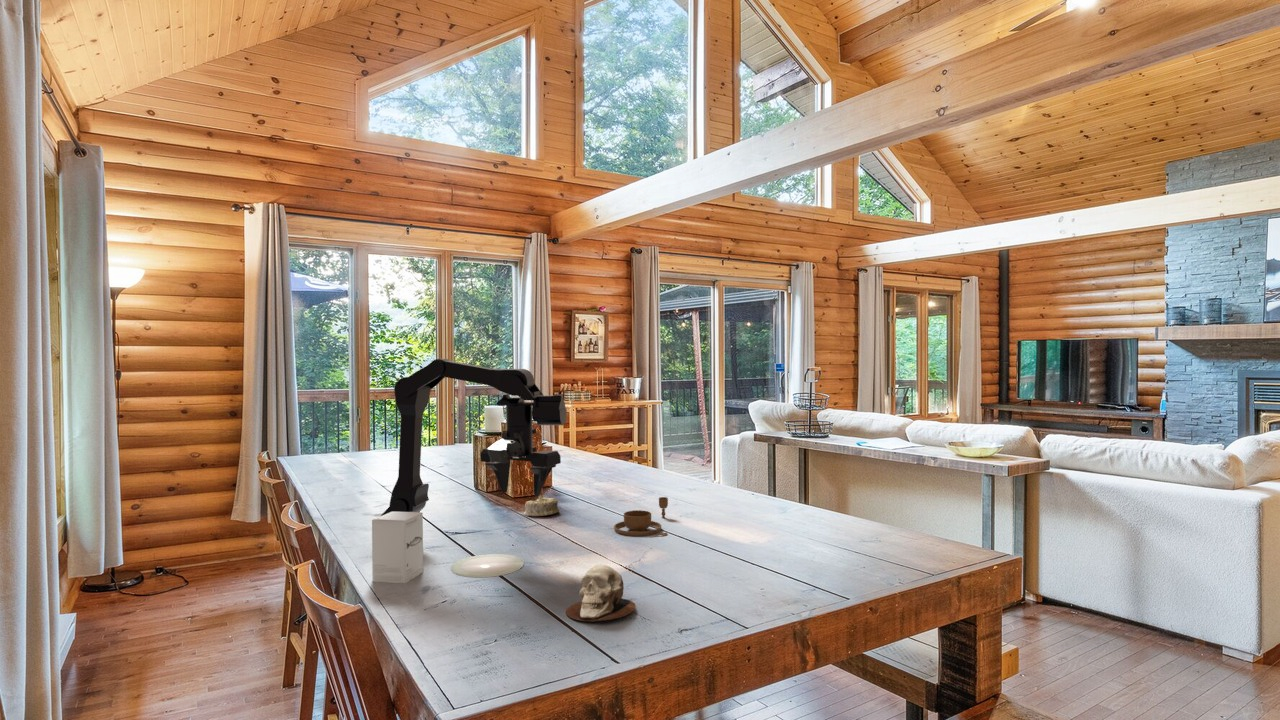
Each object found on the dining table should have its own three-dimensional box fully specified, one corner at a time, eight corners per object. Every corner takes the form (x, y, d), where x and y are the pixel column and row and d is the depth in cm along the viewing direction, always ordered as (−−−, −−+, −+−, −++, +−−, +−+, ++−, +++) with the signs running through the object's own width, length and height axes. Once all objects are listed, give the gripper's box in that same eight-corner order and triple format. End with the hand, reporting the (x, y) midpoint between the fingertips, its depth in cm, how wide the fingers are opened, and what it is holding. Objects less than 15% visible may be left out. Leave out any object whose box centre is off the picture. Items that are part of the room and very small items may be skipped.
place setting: (599, 528, 181) (599, 505, 180) (663, 517, 191) (663, 496, 191) (635, 544, 166) (635, 519, 166) (703, 531, 176) (702, 508, 176)
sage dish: (435, 571, 145) (435, 569, 145) (484, 552, 158) (484, 550, 158) (491, 582, 137) (491, 580, 137) (538, 561, 151) (538, 559, 151)
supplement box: (405, 585, 137) (404, 520, 136) (371, 582, 138) (370, 518, 138) (424, 573, 144) (423, 511, 144) (392, 570, 145) (391, 510, 145)
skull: (618, 623, 113) (576, 574, 115) (583, 659, 117) (544, 610, 120) (652, 593, 123) (613, 549, 126) (619, 626, 127) (582, 582, 130)
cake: (566, 512, 196) (566, 493, 196) (540, 519, 188) (540, 499, 188) (542, 508, 202) (541, 489, 202) (515, 514, 195) (515, 495, 195)
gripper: (462, 427, 154) (463, 497, 154) (529, 431, 145) (531, 506, 145) (496, 422, 164) (497, 488, 164) (561, 425, 155) (562, 496, 155)
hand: (520, 494), depth 157 cm, fingers open, 9 cm apart
